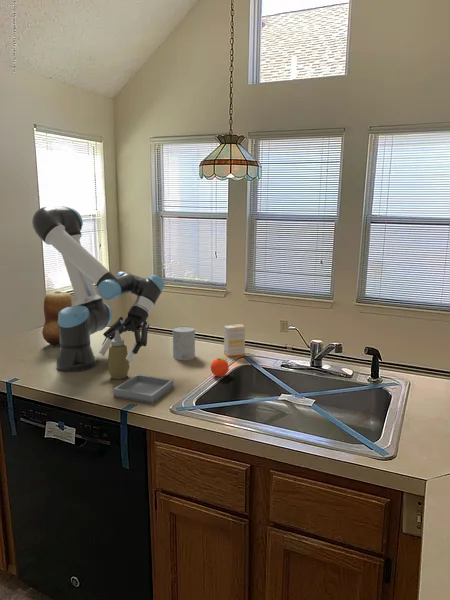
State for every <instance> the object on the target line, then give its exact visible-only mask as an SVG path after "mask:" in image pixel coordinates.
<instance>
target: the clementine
mask: <svg viewBox="0 0 450 600" xmlns="http://www.w3.org/2000/svg"><path fill="white" fill-rule="evenodd" d="M229 368H230V367H229V364H228V361H227V359H226V358H224V357H220V358H215V359H214V360H212V362H211V364H210V371H211V373H212V374H213V375H214V376H216V377H224V376H226V374H228V372H229Z"/></svg>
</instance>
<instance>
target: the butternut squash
mask: <svg viewBox="0 0 450 600" xmlns="http://www.w3.org/2000/svg"><path fill="white" fill-rule="evenodd" d="M67 307H72V296H71V294H70V293H68V292H65V291H62V290H53V291H49V292H48V293H46V294H45V296H44V301H43V312H44V313H43V314H44V315H43V316H44V324H43V328H42V331H41V333H42V337H43V339H44V340H45V342H46V343H48V344H49V345H50V346H53V347H55V346H56V345H57V346H60V339H59V325H58V314H59V312H60V311H61V310H63V309H64V308H67ZM57 346H56V347H57Z"/></svg>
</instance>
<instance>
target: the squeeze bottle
mask: <svg viewBox="0 0 450 600" xmlns="http://www.w3.org/2000/svg"><path fill="white" fill-rule="evenodd" d="M128 353H129V352H128V347H127V345H126V344H125V339H124V338H122V336H121V334H120V333H119V330H116V332H115V337H114V339H112V340H111V345H110V346H109V348H108V356H107V357H108V358H107V359H108V360H107V371H108V373H109V375H110V378H112V379H114V380H121V379H124V378H125V379H126V378H127V377H128V373H129V370H130V362H129V361H128V360H127V359H126V357H127V355H128Z"/></svg>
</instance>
